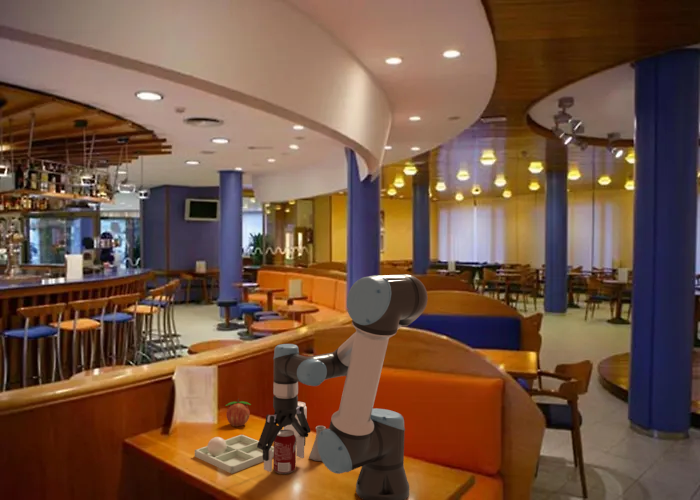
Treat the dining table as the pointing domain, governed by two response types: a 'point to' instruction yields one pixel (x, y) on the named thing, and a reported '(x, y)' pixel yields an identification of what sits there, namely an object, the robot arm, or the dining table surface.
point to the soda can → (285, 452)
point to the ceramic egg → (216, 446)
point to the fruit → (238, 413)
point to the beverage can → (297, 419)
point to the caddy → (235, 454)
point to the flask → (314, 452)
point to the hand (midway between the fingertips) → (284, 463)
